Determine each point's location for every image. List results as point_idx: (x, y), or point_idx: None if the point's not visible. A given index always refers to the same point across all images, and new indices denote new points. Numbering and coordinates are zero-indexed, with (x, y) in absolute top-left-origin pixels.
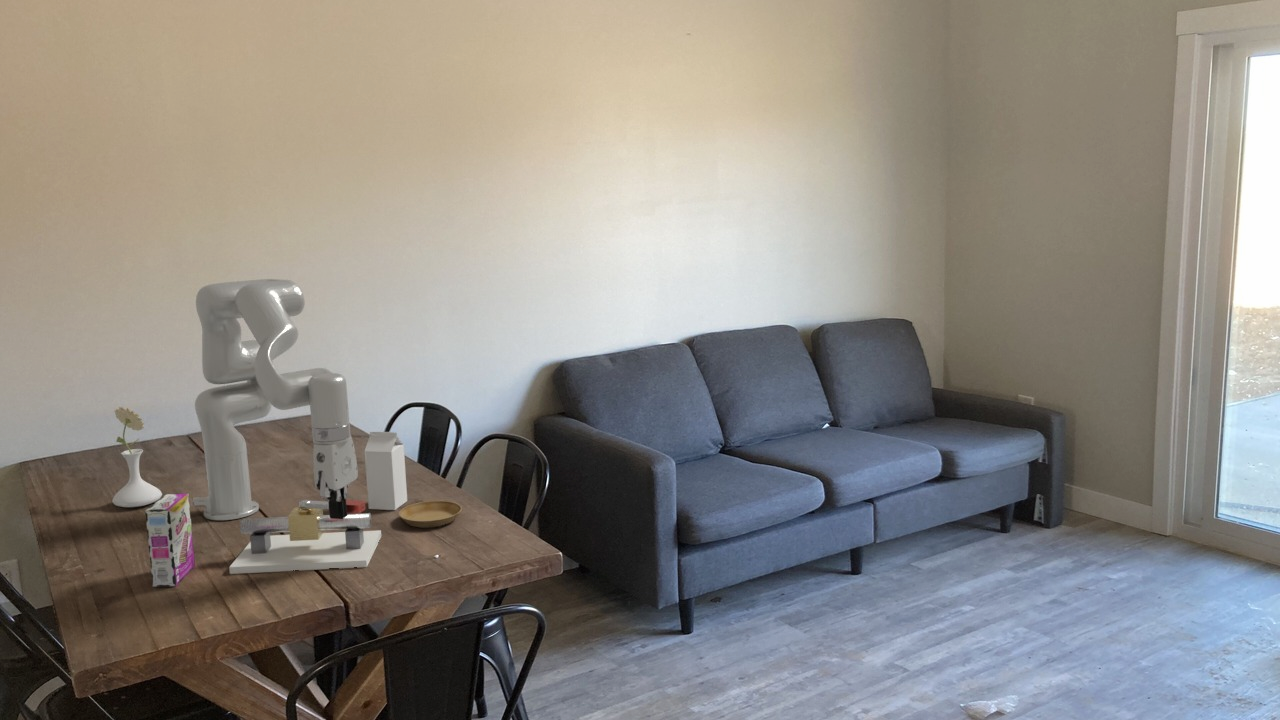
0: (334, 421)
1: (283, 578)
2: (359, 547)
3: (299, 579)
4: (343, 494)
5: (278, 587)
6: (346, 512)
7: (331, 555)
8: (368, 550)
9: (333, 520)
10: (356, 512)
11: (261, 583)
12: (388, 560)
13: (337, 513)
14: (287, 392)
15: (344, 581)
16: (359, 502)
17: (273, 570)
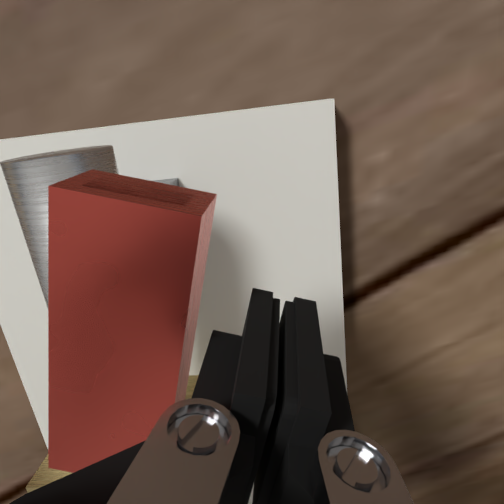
0: None
1: (411, 391)
2: (177, 183)
3: (431, 338)
4: (229, 462)
5: (496, 384)
6: (259, 303)
7: (262, 283)
8: (200, 129)
9: None
10: (211, 222)
11: (446, 441)
12: (246, 7)
13: (338, 366)
14: None
15: (490, 154)
16: (99, 236)
17: None
